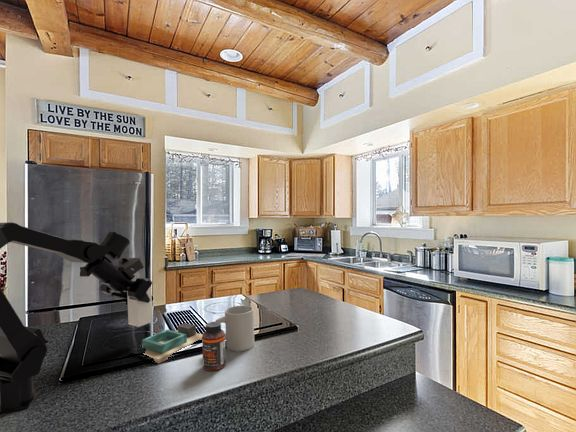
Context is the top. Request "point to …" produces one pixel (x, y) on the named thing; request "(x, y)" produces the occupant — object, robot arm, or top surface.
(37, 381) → the top surface
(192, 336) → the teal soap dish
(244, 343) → the mug
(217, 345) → the supplement bottle
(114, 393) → the top surface
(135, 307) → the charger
